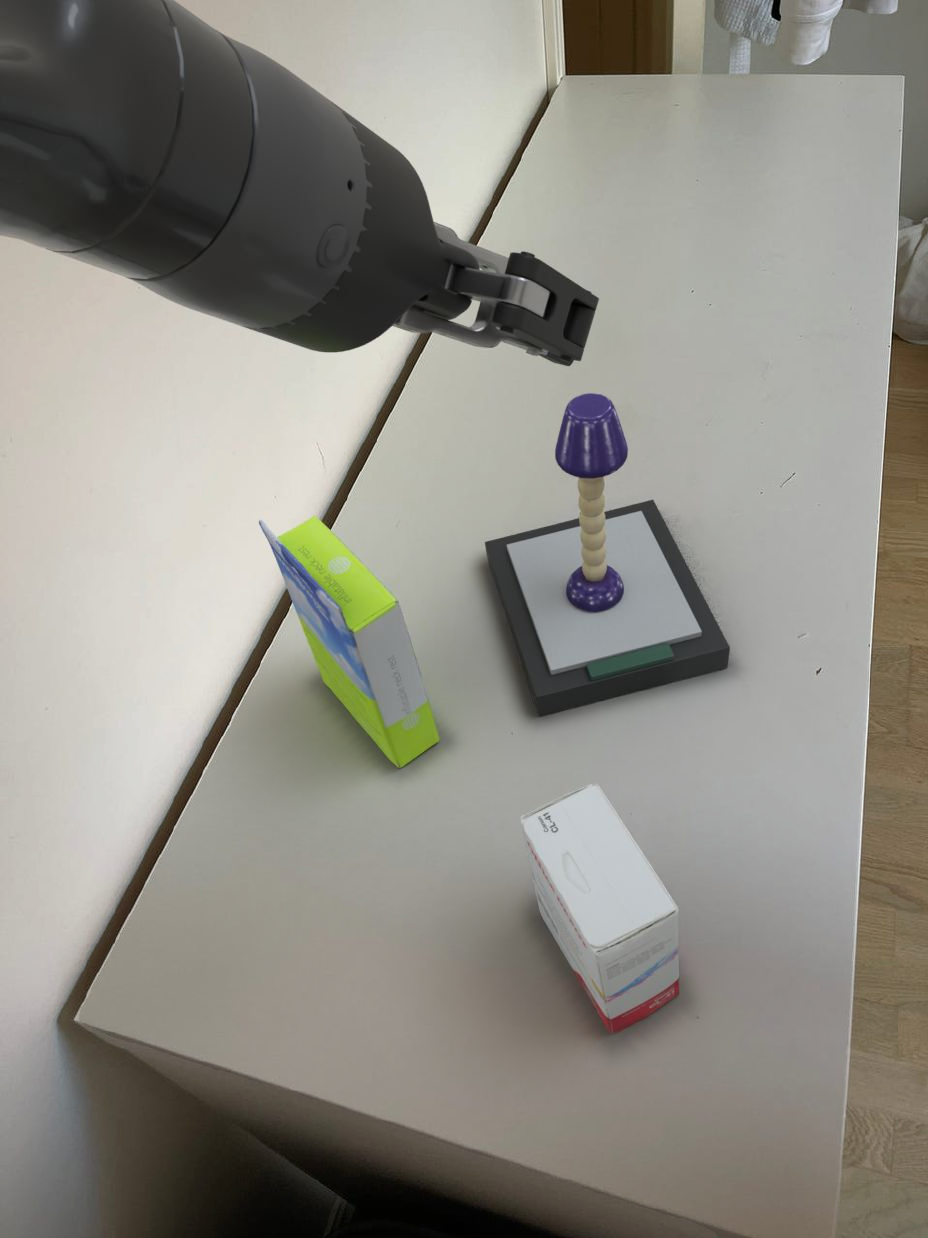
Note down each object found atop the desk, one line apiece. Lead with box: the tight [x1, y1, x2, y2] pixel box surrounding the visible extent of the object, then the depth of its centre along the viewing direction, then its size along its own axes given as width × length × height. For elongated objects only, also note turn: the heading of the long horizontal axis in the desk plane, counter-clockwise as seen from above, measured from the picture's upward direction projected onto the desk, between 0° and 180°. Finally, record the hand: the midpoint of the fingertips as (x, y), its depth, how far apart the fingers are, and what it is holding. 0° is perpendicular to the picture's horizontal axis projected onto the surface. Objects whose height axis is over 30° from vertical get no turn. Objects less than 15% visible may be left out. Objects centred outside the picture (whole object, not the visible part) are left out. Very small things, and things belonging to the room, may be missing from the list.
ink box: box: [519, 782, 680, 1034], centre depth 54 cm, size 9×5×12 cm, turn 25°
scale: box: [484, 499, 731, 717], centre depth 75 cm, size 16×14×3 cm
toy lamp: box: [554, 392, 629, 612], centre depth 67 cm, size 5×5×17 cm
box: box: [258, 515, 440, 769], centre depth 66 cm, size 10×4×17 cm, turn 36°
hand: (489, 323), depth 46 cm, fingers open, 8 cm apart
